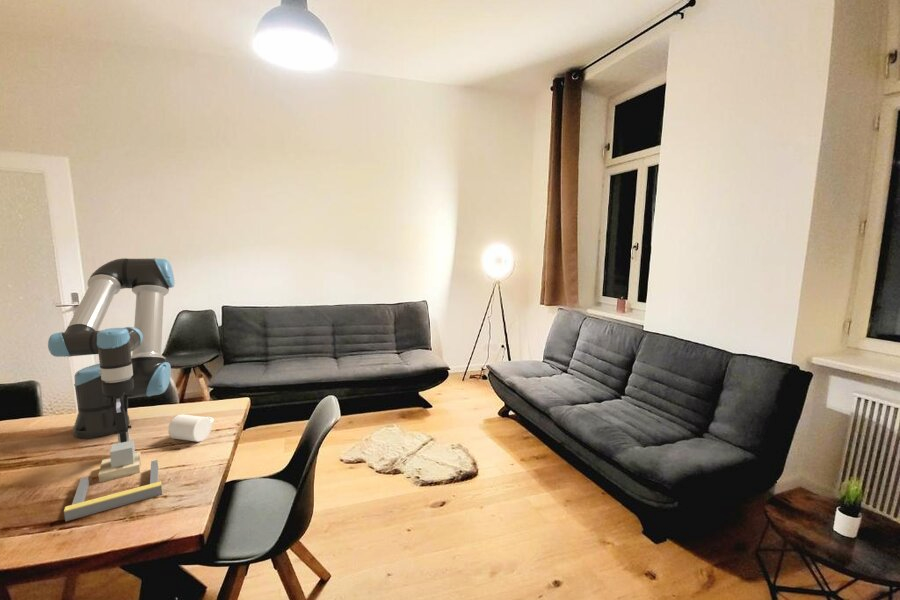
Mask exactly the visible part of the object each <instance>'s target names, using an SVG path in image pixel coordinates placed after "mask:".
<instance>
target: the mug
mask: <svg viewBox="0 0 900 600" xmlns="http://www.w3.org/2000/svg"><path fill="white" fill-rule="evenodd" d="M214 422H215V419H214V418H213V417H211V416H198V415H192V414H191V415H190V414H182V413H181V414H178V415H176V416H175V417H173V419H171V421H170V423H169V425H168V429H167V432H168V436H170V438H172V439H175V440H182V441H188V442H189V441H190V442H198V443H199V442H203V441H205V440H206V439H207V438H208V437H209V435H210V434H211V431H212V427H213V425H212V424H213V423H214Z"/></svg>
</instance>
